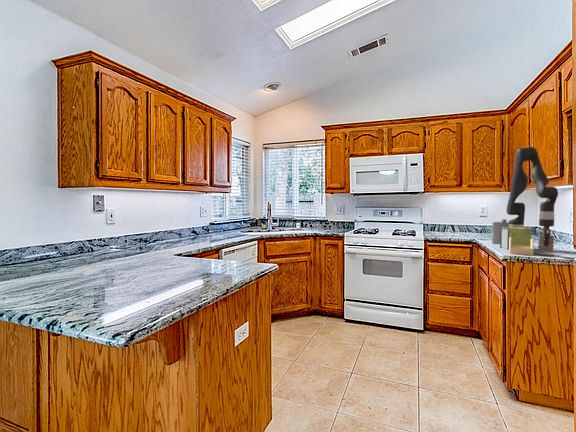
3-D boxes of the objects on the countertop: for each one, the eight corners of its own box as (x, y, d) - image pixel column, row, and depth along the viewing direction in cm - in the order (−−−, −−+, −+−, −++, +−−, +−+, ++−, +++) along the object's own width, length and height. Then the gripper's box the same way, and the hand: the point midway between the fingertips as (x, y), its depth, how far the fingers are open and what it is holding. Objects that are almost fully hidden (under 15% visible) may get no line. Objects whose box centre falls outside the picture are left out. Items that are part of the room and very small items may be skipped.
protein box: (531, 250, 228) (532, 228, 227) (508, 250, 228) (509, 228, 227) (520, 248, 238) (521, 227, 238) (499, 248, 239) (499, 227, 238)
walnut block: (538, 249, 212) (538, 235, 212) (552, 249, 209) (552, 235, 208) (539, 249, 208) (539, 235, 208) (553, 250, 204) (553, 236, 204)
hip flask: (515, 245, 257) (516, 219, 256) (515, 245, 254) (516, 219, 253) (492, 243, 268) (492, 218, 267) (491, 243, 265) (492, 219, 264)
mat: (535, 253, 215) (535, 252, 215) (553, 255, 210) (553, 254, 210) (537, 256, 206) (537, 255, 206) (556, 257, 202) (556, 256, 202)
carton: (508, 251, 224) (509, 237, 224) (531, 253, 218) (531, 238, 217) (509, 254, 213) (510, 239, 212) (533, 256, 206) (533, 240, 206)
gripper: (537, 217, 215) (537, 243, 216) (540, 218, 203) (539, 246, 204) (552, 218, 211) (551, 244, 212) (556, 219, 199) (555, 247, 200)
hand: (545, 245), depth 208 cm, fingers closed on walnut block, 5 cm apart
